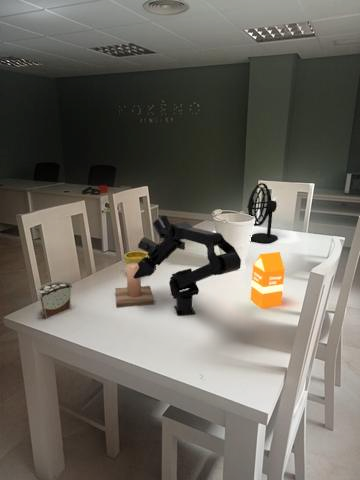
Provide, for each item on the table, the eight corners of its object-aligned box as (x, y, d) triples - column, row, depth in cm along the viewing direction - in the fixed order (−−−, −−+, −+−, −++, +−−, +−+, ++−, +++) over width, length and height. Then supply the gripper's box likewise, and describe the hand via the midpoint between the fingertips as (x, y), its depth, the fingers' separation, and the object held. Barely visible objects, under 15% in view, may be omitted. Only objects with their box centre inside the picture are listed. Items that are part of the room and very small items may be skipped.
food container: (64, 302, 130) (62, 278, 127) (73, 307, 126) (71, 282, 123) (33, 314, 121) (30, 288, 118) (42, 320, 117) (39, 293, 114)
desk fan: (257, 232, 235) (261, 180, 225) (282, 236, 225) (288, 182, 215) (239, 241, 214) (242, 184, 204) (265, 246, 204) (270, 186, 194)
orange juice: (250, 300, 134) (253, 251, 129) (269, 296, 137) (273, 248, 132) (261, 309, 127) (265, 257, 122) (281, 305, 130) (286, 255, 125)
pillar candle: (141, 296, 132) (141, 267, 129) (127, 297, 131) (126, 267, 128) (140, 291, 137) (139, 262, 134) (127, 292, 136) (126, 263, 133)
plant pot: (142, 280, 152) (141, 259, 149) (121, 277, 155) (120, 256, 152) (151, 272, 161) (151, 252, 158) (131, 269, 164) (131, 249, 162)
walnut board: (154, 304, 130) (154, 300, 129) (116, 307, 127) (116, 303, 126) (149, 289, 143) (149, 285, 142) (115, 291, 140) (115, 288, 140)
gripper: (158, 225, 134) (132, 250, 140) (143, 238, 117) (113, 266, 122) (177, 246, 135) (150, 270, 140) (165, 262, 117) (135, 288, 123)
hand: (138, 273), depth 131 cm, fingers open, 9 cm apart
